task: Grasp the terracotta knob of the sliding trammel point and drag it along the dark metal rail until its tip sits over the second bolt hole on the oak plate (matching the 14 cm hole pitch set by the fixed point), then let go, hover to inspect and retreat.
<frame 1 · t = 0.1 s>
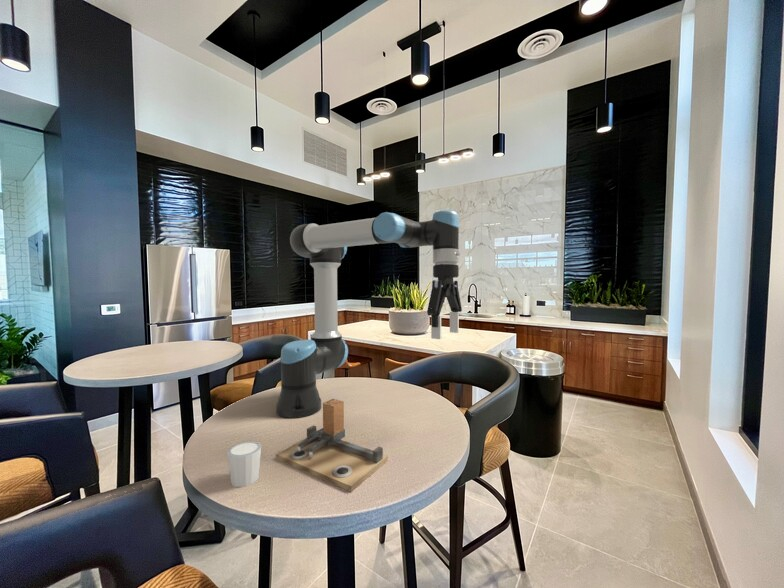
hand: (445, 335, 95), 28 cm above the table, fingers open, 13 cm apart
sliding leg: (325, 427, 81), point 7 cm above the table, slide at 0.0 cm, touching fixed leg
bolt plate: (331, 459, 78), on the table
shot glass: (245, 480, 71), on the table
fixed leg: (322, 445, 86), resting on bolt plate
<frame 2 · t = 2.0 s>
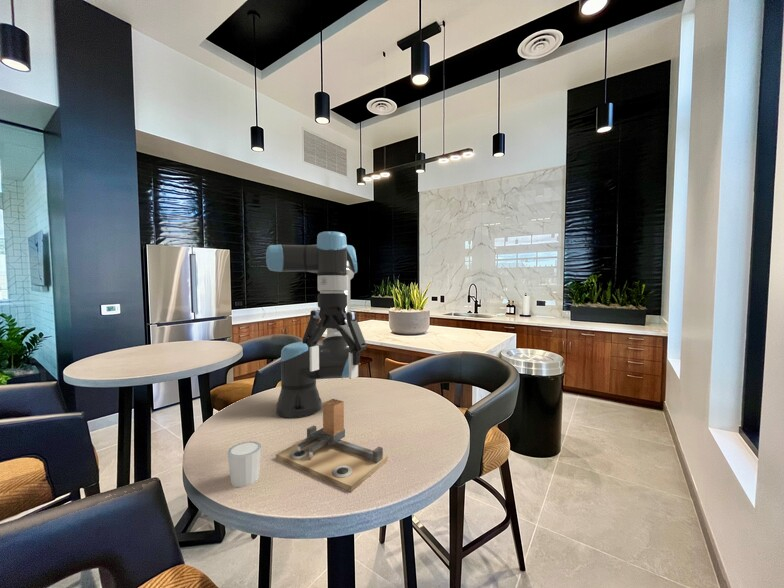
hand: (333, 373, 83), 20 cm above the table, fingers open, 13 cm apart
nothing on the table moved.
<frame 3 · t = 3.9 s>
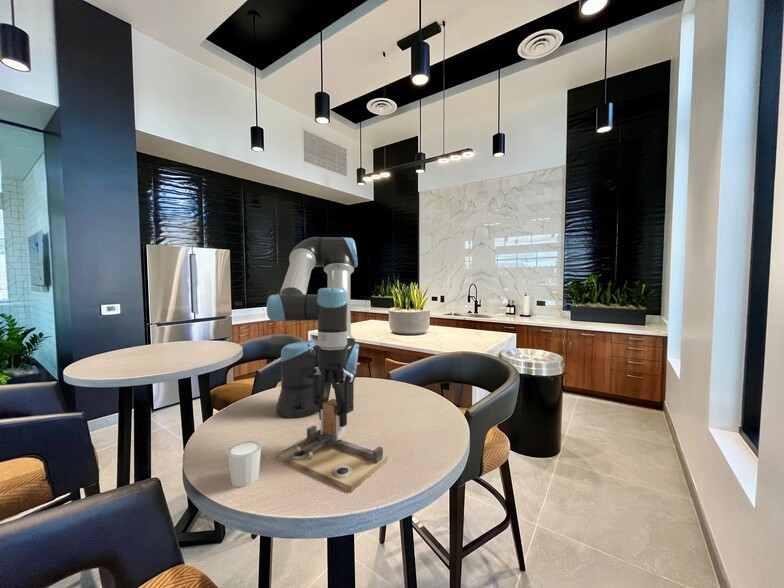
hand: (332, 434, 84), 4 cm above the table, fingers open, 5 cm apart
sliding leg: (325, 427, 81), point 7 cm above the table, slide at 0.0 cm, touching fixed leg, gripper
everything else where it was.
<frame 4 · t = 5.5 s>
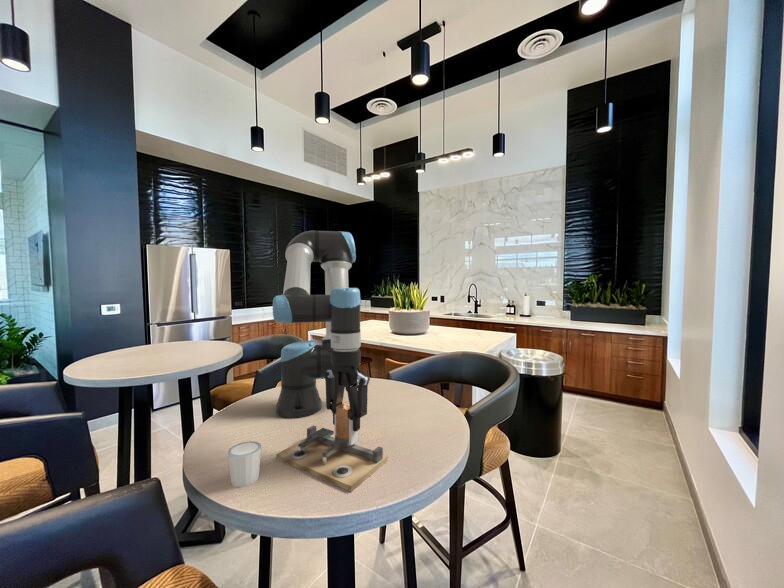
hand: (346, 440, 81), 4 cm above the table, fingers closed on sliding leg, 4 cm apart
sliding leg: (338, 431, 78), point 7 cm above the table, slide at 4.5 cm, touching gripper
everything else where it was.
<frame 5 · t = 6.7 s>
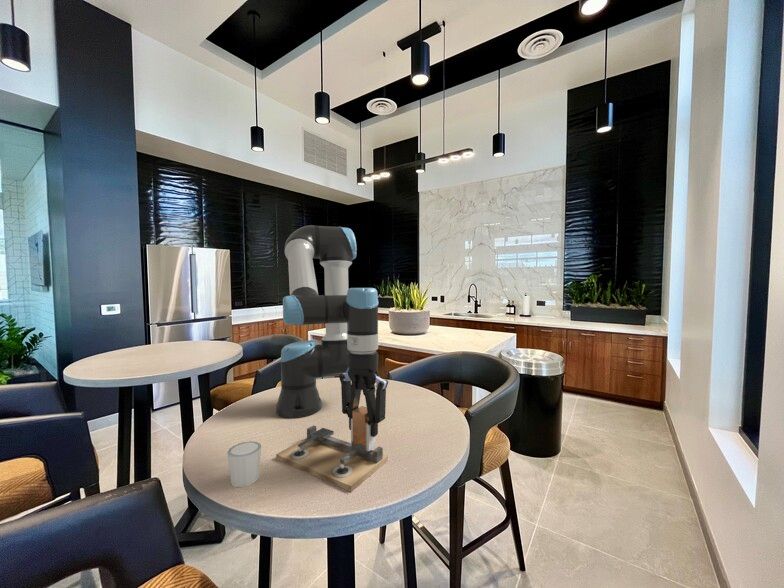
hand: (363, 445, 78), 4 cm above the table, fingers closed on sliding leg, 4 cm apart
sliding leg: (355, 437, 75), point 7 cm above the table, slide at 9.9 cm, touching gripper
everything else where it was.
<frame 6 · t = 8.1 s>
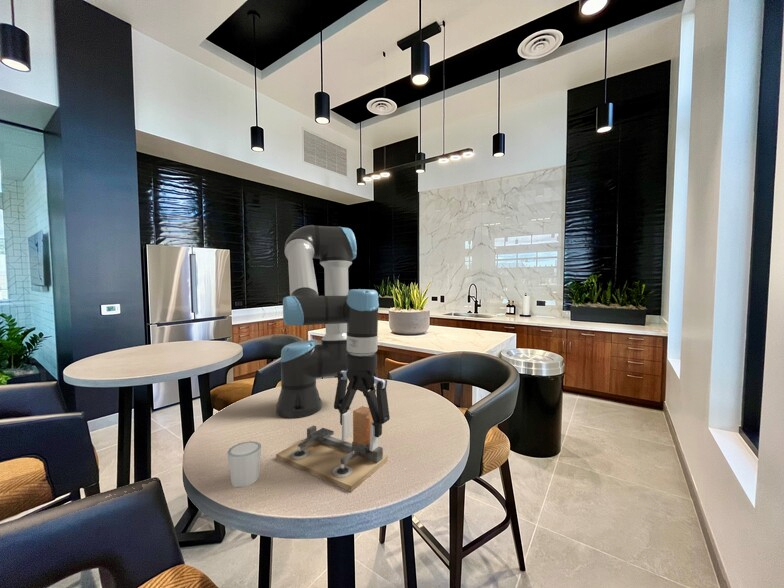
hand: (360, 443, 79), 4 cm above the table, fingers open, 8 cm apart
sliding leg: (356, 437, 75), point 7 cm above the table, slide at 10.0 cm
everything else where it was.
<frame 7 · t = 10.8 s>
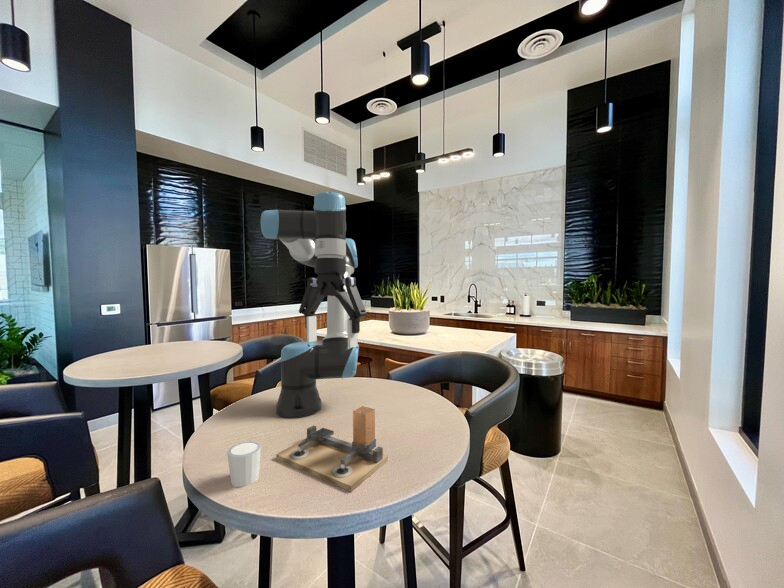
hand: (331, 344, 78), 29 cm above the table, fingers open, 13 cm apart
nothing on the table moved.
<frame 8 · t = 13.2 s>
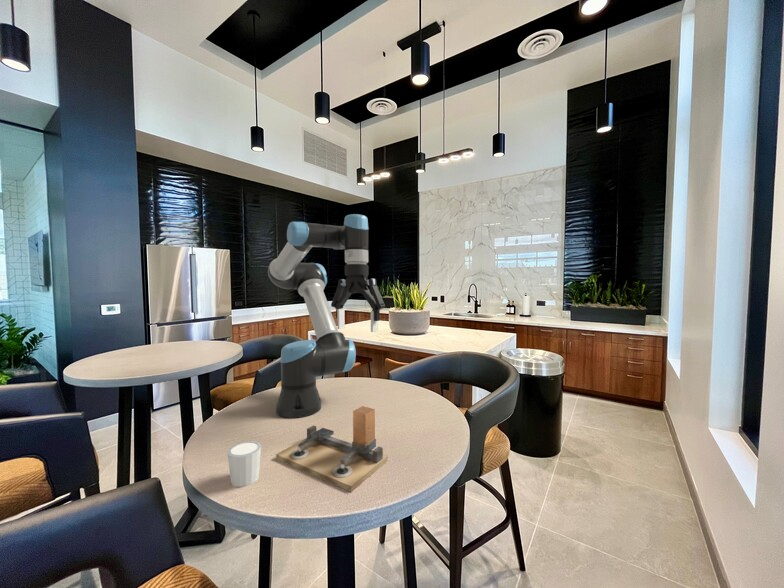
hand: (357, 330, 103), 29 cm above the table, fingers open, 13 cm apart
nothing on the table moved.
at the end: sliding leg slide at 10.0 cm; the gripper is holding nothing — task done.
